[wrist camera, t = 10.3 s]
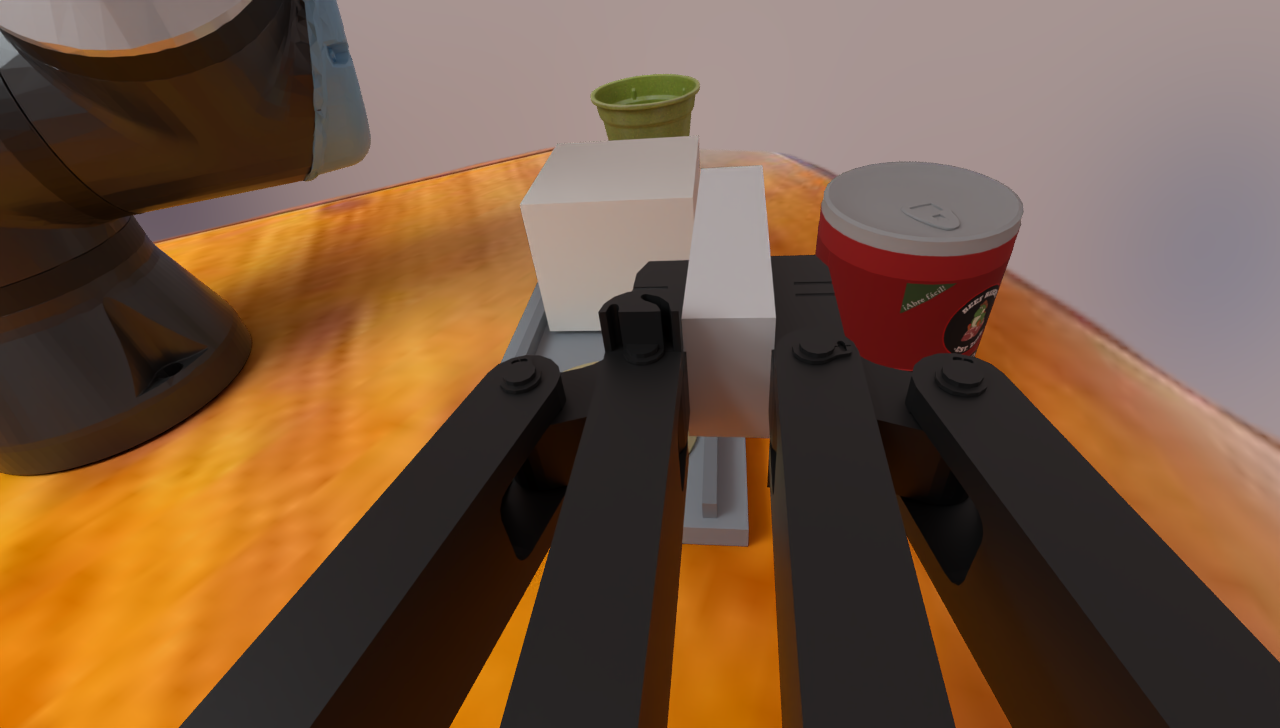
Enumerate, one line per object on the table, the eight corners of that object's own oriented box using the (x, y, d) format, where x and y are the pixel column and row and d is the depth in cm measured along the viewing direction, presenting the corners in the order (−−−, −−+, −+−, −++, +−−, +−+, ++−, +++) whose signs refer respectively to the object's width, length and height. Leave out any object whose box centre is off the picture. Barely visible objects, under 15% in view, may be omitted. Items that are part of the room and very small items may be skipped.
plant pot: (588, 204, 53) (572, 105, 48) (623, 165, 60) (613, 74, 54) (687, 210, 50) (682, 105, 45) (712, 168, 57) (711, 72, 51)
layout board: (747, 546, 25) (750, 493, 22) (438, 532, 27) (411, 483, 24) (737, 259, 43) (738, 214, 41) (554, 264, 45) (545, 222, 43)
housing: (697, 329, 34) (692, 197, 29) (549, 331, 35) (519, 204, 30) (702, 253, 41) (698, 135, 36) (578, 257, 42) (557, 143, 37)
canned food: (882, 468, 27) (936, 262, 20) (770, 377, 33) (783, 191, 26) (990, 403, 30) (1072, 199, 23) (870, 328, 35) (905, 147, 28)
